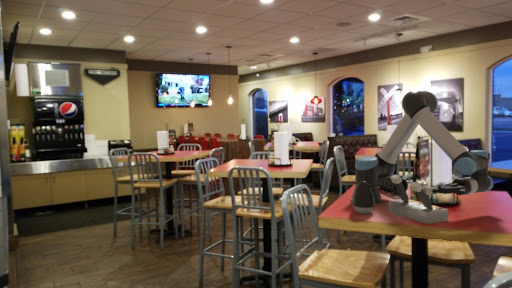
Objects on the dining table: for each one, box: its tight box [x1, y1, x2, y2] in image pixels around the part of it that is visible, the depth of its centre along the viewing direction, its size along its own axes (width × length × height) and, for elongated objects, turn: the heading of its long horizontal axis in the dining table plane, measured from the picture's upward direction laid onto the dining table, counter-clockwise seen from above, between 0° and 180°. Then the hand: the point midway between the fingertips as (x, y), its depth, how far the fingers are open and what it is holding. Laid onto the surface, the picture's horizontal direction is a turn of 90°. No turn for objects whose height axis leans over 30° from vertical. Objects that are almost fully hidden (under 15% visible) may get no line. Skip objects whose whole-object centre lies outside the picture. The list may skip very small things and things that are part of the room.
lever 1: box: [390, 174, 410, 203], centre depth 180 cm, size 4×3×14 cm
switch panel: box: [388, 198, 449, 225], centre depth 176 cm, size 23×12×5 cm, turn 22°
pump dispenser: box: [352, 181, 376, 215], centre depth 184 cm, size 10×10×15 cm
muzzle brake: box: [378, 174, 409, 196], centre depth 233 cm, size 10×28×10 cm, turn 8°
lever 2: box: [409, 181, 434, 209], centre depth 167 cm, size 4×3×14 cm
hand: (425, 191), depth 167 cm, fingers closed
